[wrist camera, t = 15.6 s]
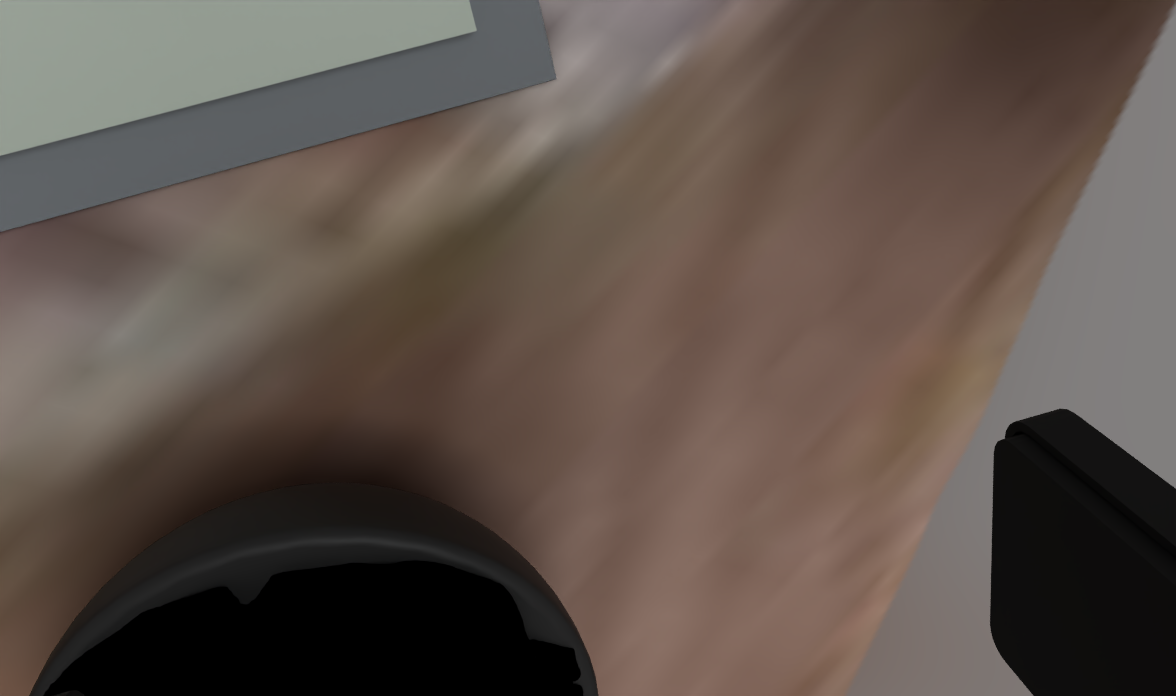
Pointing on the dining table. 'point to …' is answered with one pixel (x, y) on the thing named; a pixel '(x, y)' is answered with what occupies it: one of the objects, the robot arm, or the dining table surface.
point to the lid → (184, 53)
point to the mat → (278, 117)
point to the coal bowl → (324, 607)
